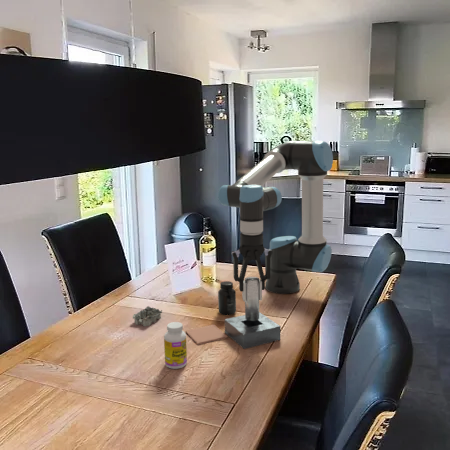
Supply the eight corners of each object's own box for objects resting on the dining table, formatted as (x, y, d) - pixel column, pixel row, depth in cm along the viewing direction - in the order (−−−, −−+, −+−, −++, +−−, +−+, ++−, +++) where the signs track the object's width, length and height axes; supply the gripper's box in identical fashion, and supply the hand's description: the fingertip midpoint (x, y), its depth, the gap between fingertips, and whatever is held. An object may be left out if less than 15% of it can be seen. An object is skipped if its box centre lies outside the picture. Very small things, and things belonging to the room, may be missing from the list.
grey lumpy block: (147, 328, 170) (146, 317, 169) (130, 324, 173) (130, 314, 172) (164, 317, 179) (163, 307, 178) (148, 314, 182) (148, 304, 182)
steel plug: (257, 314, 163) (257, 275, 160) (260, 320, 158) (260, 280, 155) (244, 315, 162) (243, 276, 159) (246, 321, 157) (246, 281, 154)
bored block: (259, 324, 170) (259, 311, 169) (280, 340, 158) (280, 326, 157) (224, 332, 164) (224, 319, 163) (243, 349, 152) (243, 334, 151)
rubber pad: (213, 325, 170) (213, 324, 170) (227, 337, 160) (227, 336, 160) (185, 332, 165) (185, 330, 165) (197, 344, 156) (197, 342, 156)
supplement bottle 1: (170, 372, 139) (169, 331, 136) (161, 362, 144) (159, 323, 141) (190, 365, 142) (189, 326, 139) (181, 357, 148) (179, 318, 145)
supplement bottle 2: (236, 309, 185) (236, 280, 183) (235, 316, 179) (235, 286, 176) (219, 308, 186) (218, 280, 184) (217, 315, 179) (216, 285, 177)
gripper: (275, 228, 159) (275, 293, 163) (223, 231, 156) (224, 297, 161) (281, 233, 151) (280, 301, 156) (226, 236, 149) (227, 305, 154)
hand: (252, 299), depth 159 cm, fingers closed on steel plug, 5 cm apart
